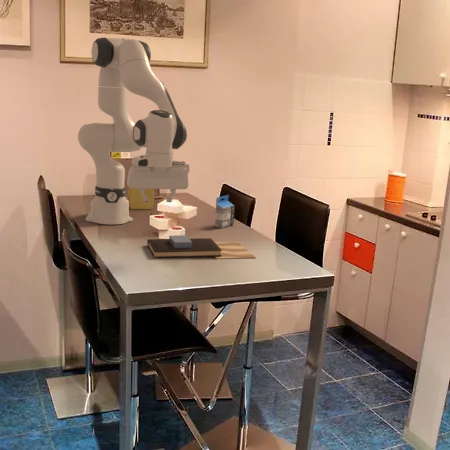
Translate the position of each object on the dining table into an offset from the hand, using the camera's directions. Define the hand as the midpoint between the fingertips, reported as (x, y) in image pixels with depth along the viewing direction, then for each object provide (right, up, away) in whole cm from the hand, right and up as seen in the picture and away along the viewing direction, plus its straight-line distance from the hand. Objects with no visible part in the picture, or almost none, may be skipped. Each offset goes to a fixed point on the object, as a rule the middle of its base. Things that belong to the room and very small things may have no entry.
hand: (157, 201), depth 203 cm
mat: (+24, -17, +12) cm, 31 cm away
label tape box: (+22, -8, +48) cm, 54 cm away
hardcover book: (+8, -17, +7) cm, 20 cm away
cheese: (-16, 0, +73) cm, 74 cm away
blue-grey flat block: (+7, -14, +6) cm, 17 cm away
